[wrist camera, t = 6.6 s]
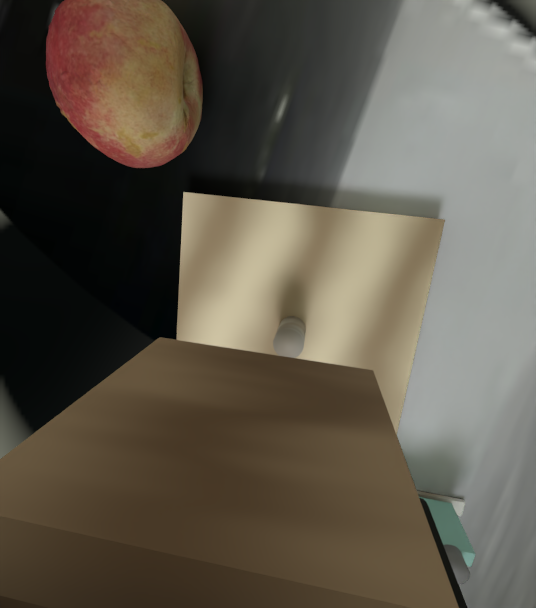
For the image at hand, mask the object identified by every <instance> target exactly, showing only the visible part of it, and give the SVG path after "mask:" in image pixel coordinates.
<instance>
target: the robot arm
mask: <svg viewBox="0 0 536 608" xmlns="http://www.w3.org/2000/svg"><path fill="white" fill-rule="evenodd" d="M419 499H420V502H421V504H422V507H423V510H424V513H425V515H426V518H427V521H428V524H429V526H430V529H431V532H432V535H433V538H434V540H435V543H436V546H437V549H438V551H439V554H440V557H441V560H442V562H443V565H444V568H445V571H446V574H447V576H448V579H449V582H450V585H451V587H452V590H453V593H454V596H455V598H456V601H457V604H458V607H459V608H467V606H466V603H465V600H464V598H463V595H462V593H461V590H460V587H459V585H458V582H457V579H456V577H455V574H454V572H453V569H452V566H451V564H450V561H449V559H448V556H447V553H446V551H445V548H444V545H443V543H442V540H441V538H440V535H439V532H438V530H437V527H436V525H435V522H434V519H433V517H432V514H431V511H430V509H429V506H428V504H427V502H426V501H425V500H424V499H422V498H419Z"/></svg>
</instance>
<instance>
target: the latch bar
mask: <svg viewBox="0 0 536 608" xmlns="http://www.w3.org/2000/svg"><path fill="white" fill-rule="evenodd" d="M419 498H422V497H419ZM422 499H424V500H425V501H426V502H427V504H428V506H429V509H430V511H431V514H432V517H433V519H434V522H435V525H436V527H437V530H438V532H439V535H440V538H441V540H442V543H443V545H444V548H445V551H446V553H447V556H448V559H449V561H450V564H451V566H452V569H453V572H454V574H455V577H456V579H457V582H458V585H460V584H463V583H465V582H466V581H467V580H468V579H469V577H470V572H469V570H468V567H467V566H470V567H471V566H472V563H473V560H474V557H475V552H474V550H473V548H472V546H471V544H470V542H469V539H468V537H467V535H466V533H465V531H464V529H463V527H462V524H461V522H460V520H459V518H458V516H457V514H456V512H455V509H454V507H453V505H452V503H448V502H443V501H437V500H432V499H427V498H422Z"/></svg>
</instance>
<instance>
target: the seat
mask: <svg viewBox="0 0 536 608" xmlns="http://www.w3.org/2000/svg"><path fill="white" fill-rule="evenodd" d="M444 222H445V220H443V219H433V218H424V217H415V216H405V215H396V214H386V213H377V212H367V211H358V210H349V209H339V208H330V207H320V206H311V205H301V204H292V203H282V202H273V201H264V200H254V199H245V198H235V197H226V196H216V195H207V194H198V193H188V192H183V214H182V235H181V257H180V278H179V299H178V321H177V340H180V341H187V342H193V343H200V344H206V345H213V346H219V347H226V348H232V349H239V350H245V351H252V352H258V353H265V354H271V355H278V356H284V357H291V358H297V359H304V360H310V361H317V362H323V363H330V364H336V365H343V366H349V367H356V368H362V369H369V370H373V371H374V374H375V377H376V380H377V382H378V385H379V388H380V391H381V394H382V396H383V399H384V402H385V405H386V407H387V410H388V413H389V416H390V418H391V421H392V424H393V427H394V430H395V432H396V435H397V431H398V426H399V422H400V417H401V413H402V408H403V404H404V400H405V395H406V391H407V386H408V382H409V377H410V373H411V368H412V364H413V360H414V355H415V351H416V346H417V342H418V337H419V333H420V329H421V324H422V320H423V315H424V311H425V306H426V302H427V297H428V293H429V289H430V284H431V280H432V275H433V271H434V266H435V262H436V257H437V253H438V249H439V244H440V240H441V235H442V231H443V226H444ZM417 493H418V496H419V497H422V498H427V499H432V500H437V501H443V502H448V503H452V505H453V507H454V509H455V512H456V514H457V516H462V512H463V509H464V506H465V501H464V500H463V499H458V498H453V497H448V496H442V495H437V494H432V493H427V492H422V491H417Z"/></svg>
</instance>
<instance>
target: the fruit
mask: <svg viewBox="0 0 536 608" xmlns="http://www.w3.org/2000/svg"><path fill="white" fill-rule="evenodd" d="M46 68H47V77H48V79H49V86H50V88H51V90H52V93H53V96H54V98H55V101H56V104H57V106H58V107H59V108H60V110H61V113H62V114H63V115H64V116H65V117H66V118H67V119H68V120H69V122H70V123H71V124H72V126H73V127H74V128H75V129H76V130H77V131H78V132H79V133H80V134H81V135H82V136H83V137H84V138H85V139H86V140H87V141H88V142H89V143H91V144H92V145H93V146H94V147H95V148H96V149H98V150H100V151H101V152H103V153H104V154H105V155H106V156H108V157H110V158H112V159H114V160H115V161H117V162H119V163H122V164H124V165H126V166H130V167H134V168H150V167H155V166H160V165H163V164H165V163H167V162H169V161H170V160H172V159H174V158H175V157H176V156H178V155H179V154H181V153H182V152H183V151H185V150H186V148H187V146H188V145H189V144H190V142H191V141H192V139H193V137H194V135H195V133H196V131H197V129H198V126H199V123H200V120H201V113H202V102H203V88H202V78H201V73H200V69H199V64H198V58H197V56H196V52H195V50H194V48H193V46H192V43H191V42H190V40H189V38H188V36H187V34H186V32H185V30H184V28H183V26H182V25H181V23H180V22H179V20H178V19H177V17H176V16H175V14H174V13H173V12H172V10H171V9H170V8H169V7H168V6H167V5H166V4H165V3H164V2H163V1H161V0H64V1H63V2H62V3H61V4H60V5H59V6H58V8H57V9H56V10H55V14H54V16H53V19H52V22H51V23H50V25H49V31H48V36H47V41H46Z"/></svg>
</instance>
